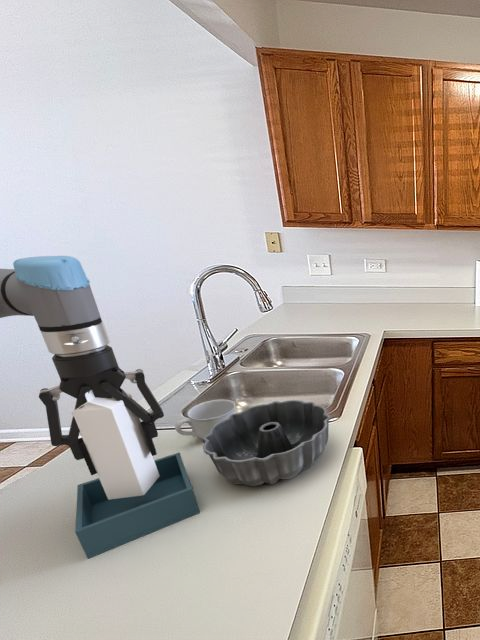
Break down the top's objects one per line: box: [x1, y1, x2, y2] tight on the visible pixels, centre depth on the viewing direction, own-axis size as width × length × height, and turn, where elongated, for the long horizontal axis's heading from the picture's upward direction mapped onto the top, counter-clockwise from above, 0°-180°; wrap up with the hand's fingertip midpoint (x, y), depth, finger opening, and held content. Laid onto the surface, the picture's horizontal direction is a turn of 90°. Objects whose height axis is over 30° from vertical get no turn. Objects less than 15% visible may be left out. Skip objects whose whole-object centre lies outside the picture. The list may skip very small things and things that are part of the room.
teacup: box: [174, 398, 238, 440], centre depth 104 cm, size 14×11×8 cm
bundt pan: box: [202, 399, 331, 487], centre depth 94 cm, size 26×26×10 cm
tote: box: [74, 452, 201, 559], centre depth 79 cm, size 17×17×6 cm
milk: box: [70, 390, 160, 500], centre depth 74 cm, size 6×6×22 cm
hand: (124, 461), depth 76 cm, fingers closed on milk, 8 cm apart
